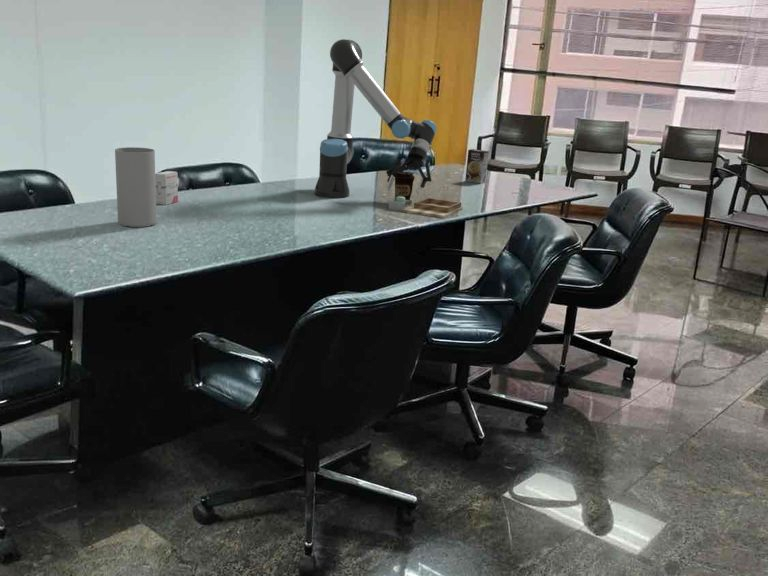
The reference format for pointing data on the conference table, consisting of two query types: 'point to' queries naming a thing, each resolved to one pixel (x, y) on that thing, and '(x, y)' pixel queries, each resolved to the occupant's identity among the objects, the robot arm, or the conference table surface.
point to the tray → (434, 207)
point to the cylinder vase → (136, 186)
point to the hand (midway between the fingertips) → (402, 191)
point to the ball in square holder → (399, 204)
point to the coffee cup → (404, 184)
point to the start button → (400, 199)
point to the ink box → (166, 187)
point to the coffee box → (477, 166)
